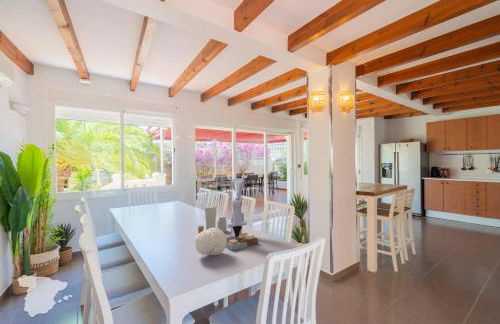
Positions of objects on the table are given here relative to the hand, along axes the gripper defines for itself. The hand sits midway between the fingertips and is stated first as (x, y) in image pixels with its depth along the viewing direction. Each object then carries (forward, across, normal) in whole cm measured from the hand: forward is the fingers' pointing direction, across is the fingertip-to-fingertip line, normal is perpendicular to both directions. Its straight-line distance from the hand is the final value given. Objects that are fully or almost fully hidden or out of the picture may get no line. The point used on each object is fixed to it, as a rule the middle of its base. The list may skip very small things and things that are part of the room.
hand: (236, 236), depth 165 cm
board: (+5, +6, -2) cm, 8 cm away
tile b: (+1, +7, -6) cm, 9 cm away
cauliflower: (+5, -24, -10) cm, 27 cm away
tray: (+5, -4, -2) cm, 7 cm away
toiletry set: (+5, -4, +30) cm, 30 cm away
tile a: (+2, -3, 0) cm, 4 cm away
